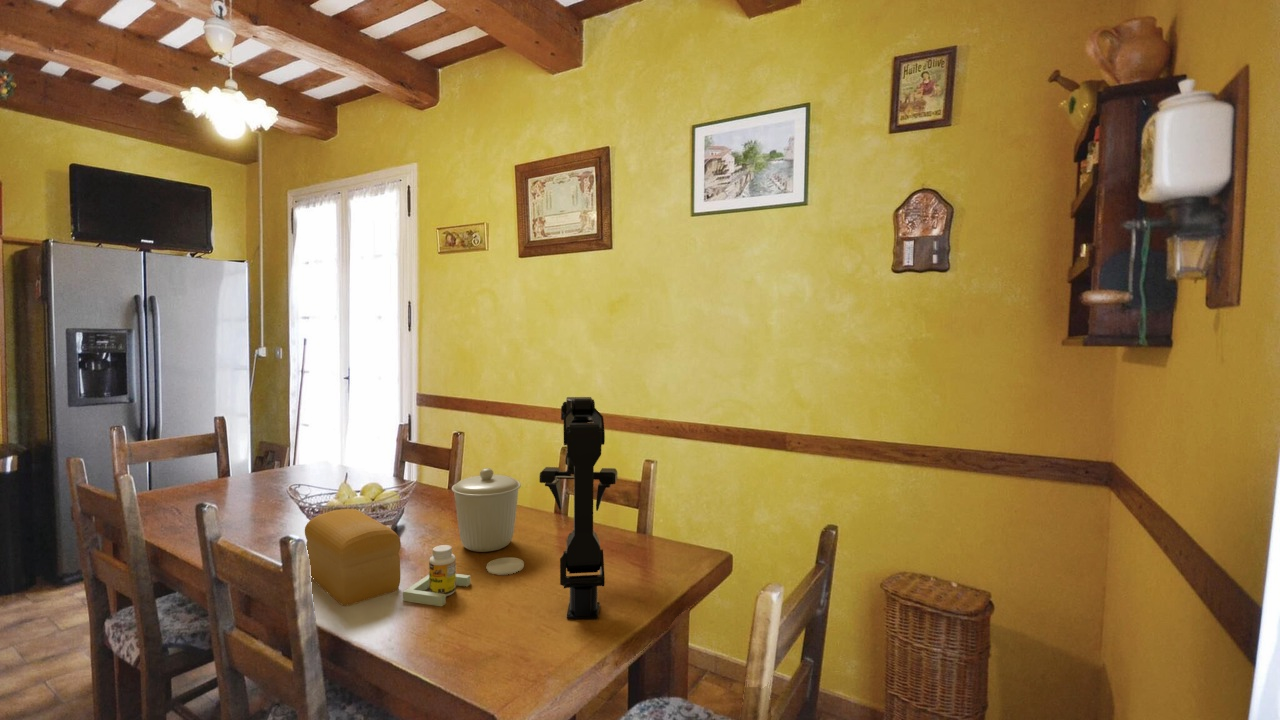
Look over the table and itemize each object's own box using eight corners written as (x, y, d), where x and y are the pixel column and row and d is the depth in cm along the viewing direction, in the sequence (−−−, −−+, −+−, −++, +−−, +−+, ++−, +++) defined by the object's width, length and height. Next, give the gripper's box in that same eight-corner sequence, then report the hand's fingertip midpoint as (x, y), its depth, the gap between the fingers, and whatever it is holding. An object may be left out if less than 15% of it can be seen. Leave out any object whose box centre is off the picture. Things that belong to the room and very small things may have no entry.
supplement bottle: (424, 594, 133) (423, 549, 132) (443, 585, 137) (443, 541, 137) (441, 600, 130) (441, 554, 129) (461, 591, 135) (460, 546, 134)
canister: (533, 547, 161) (532, 470, 160) (468, 563, 150) (467, 480, 149) (503, 529, 175) (502, 458, 174) (442, 543, 164) (441, 466, 163)
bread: (402, 589, 136) (401, 524, 135) (342, 608, 126) (341, 538, 126) (360, 559, 153) (359, 501, 152) (304, 574, 143) (303, 512, 143)
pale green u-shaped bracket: (470, 584, 138) (470, 575, 138) (441, 606, 127) (441, 597, 127) (434, 579, 141) (434, 570, 141) (402, 600, 130) (402, 591, 130)
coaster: (520, 575, 143) (520, 571, 143) (482, 575, 143) (482, 571, 143) (526, 560, 152) (526, 557, 152) (491, 560, 152) (491, 557, 152)
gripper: (619, 442, 156) (619, 501, 157) (548, 441, 157) (548, 500, 158) (615, 450, 145) (615, 514, 146) (538, 449, 146) (539, 512, 147)
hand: (578, 509), depth 149 cm, fingers open, 9 cm apart
